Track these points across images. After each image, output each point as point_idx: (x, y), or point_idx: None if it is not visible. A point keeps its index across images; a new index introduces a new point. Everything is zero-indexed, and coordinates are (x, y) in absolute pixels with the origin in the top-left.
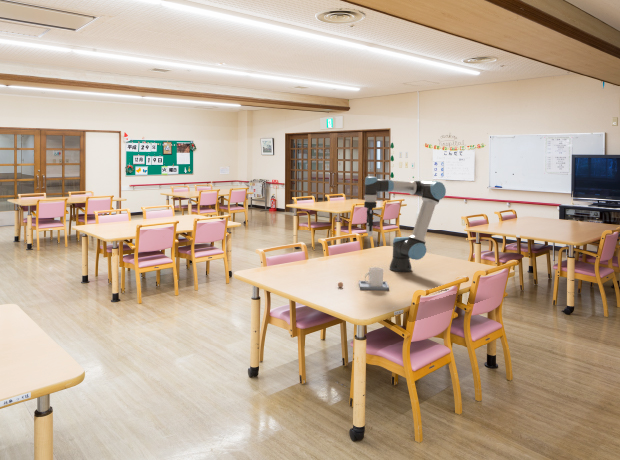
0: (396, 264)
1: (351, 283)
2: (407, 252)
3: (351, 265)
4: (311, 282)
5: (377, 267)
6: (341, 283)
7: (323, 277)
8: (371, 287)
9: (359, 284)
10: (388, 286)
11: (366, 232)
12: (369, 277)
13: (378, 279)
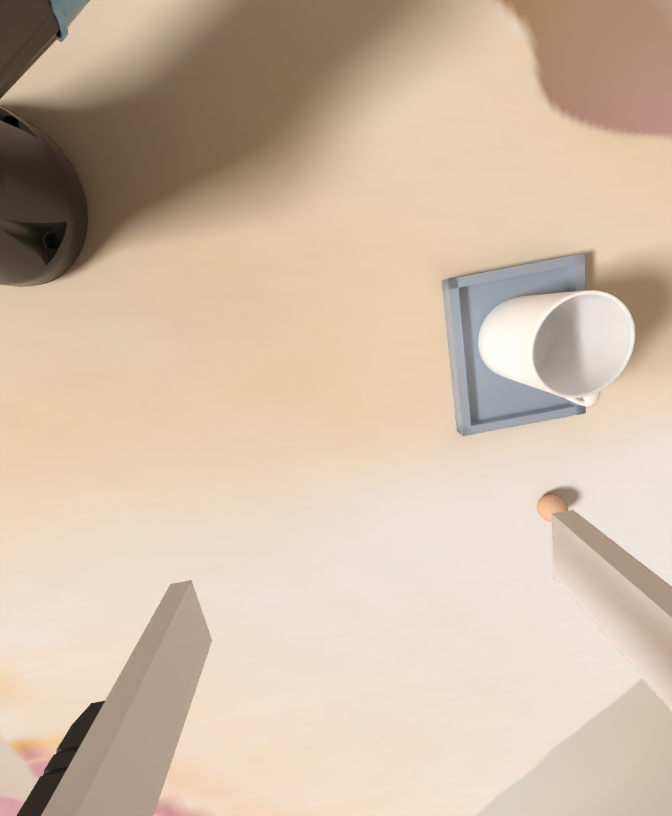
0: (40, 222)
1: (461, 465)
2: (37, 26)
3: (48, 525)
4: (479, 627)
5: (534, 340)
6: (566, 507)
7: (376, 602)
8: None
9: (528, 422)
10: (562, 258)
11: (208, 647)
12: (563, 378)
13: (585, 320)
